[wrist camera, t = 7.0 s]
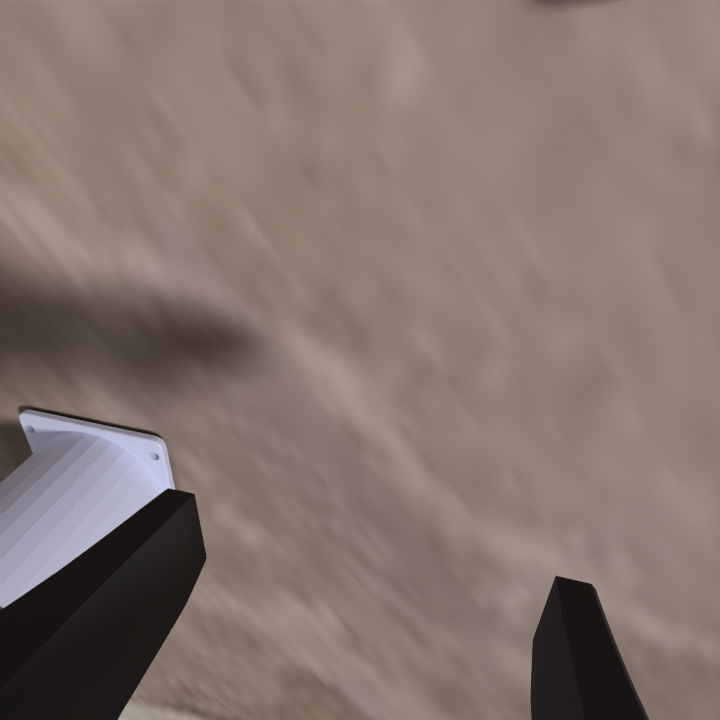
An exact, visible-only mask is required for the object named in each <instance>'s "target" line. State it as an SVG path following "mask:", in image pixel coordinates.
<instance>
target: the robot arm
mask: <svg viewBox="0 0 720 720" xmlns="http://www.w3.org/2000/svg"><path fill="white" fill-rule="evenodd" d="M19 419H20V422H21V425H22V427H23V430H24V432H25V435H26V437H27V440H28V443H29V445H30V448H31V450H32V453H33V454H32V455H31V456H30V457H29V458H28V459H27V460H26V461H24V462H23V463H22V464H21V465H20V466H19V467H18V468H17V469H15V470H14V471H13V472H12V473H11V474H10V475H9V476H8V477H6V478H5V479H4V480H3V481H2V482H1V483H0V720H118V718H119V716H120V714H121V713H122V711H123V709H124V708H125V706H126V704H127V703H128V701H129V699H130V698H131V696H132V694H133V693H134V691H135V689H136V688H137V686H138V684H139V683H140V681H141V679H142V678H143V676H144V674H145V673H146V671H147V669H148V668H149V666H150V664H151V663H152V661H153V659H154V658H155V656H156V654H157V653H158V651H159V649H160V648H161V646H162V644H163V643H164V641H165V639H166V638H167V636H168V634H169V633H170V631H171V629H172V628H173V626H174V624H175V622H176V621H177V619H178V617H179V616H180V614H181V612H182V610H183V609H184V607H185V605H186V603H187V601H188V599H189V597H190V594H191V592H192V590H193V588H194V586H195V584H196V581H197V579H198V577H199V575H200V572H201V570H202V568H203V565H204V563H205V561H206V558H207V557H206V552H205V547H204V542H203V536H202V531H201V526H200V521H199V515H198V510H197V505H196V500H195V494H192V493H188V492H183V491H179V490H175V486H174V481H173V477H172V472H171V467H170V462H169V458H168V453H167V448H166V445H165V442H164V441H163V440H162V439H161V438H159V437H157V436H154V435H149V434H144V433H139V432H135V431H130V430H125V429H120V428H115V427H111V426H106V425H101V424H96V423H91V422H87V421H82V420H77V419H72V418H68V417H63V416H58V415H53V414H48V413H44V412H39V411H34V410H25V411H23V412H22V413H21V414H20V415H19ZM531 715H532V720H649V718H648V716H647V714H646V712H645V710H644V708H643V705H642V703H641V701H640V699H639V697H638V695H637V692H636V690H635V688H634V686H633V683H632V681H631V679H630V676H629V674H628V672H627V669H626V667H625V665H624V662H623V660H622V657H621V655H620V653H619V650H618V648H617V645H616V643H615V640H614V638H613V635H612V633H611V630H610V628H609V625H608V622H607V620H606V617H605V614H604V611H603V609H602V606H601V603H600V600H599V597H598V595H597V592H596V589H595V588H594V587H593V585H592V584H589V583H585V582H581V581H576V580H572V579H567V578H563V577H558V576H556V577H555V580H554V582H553V585H552V588H551V591H550V594H549V596H548V599H547V602H546V605H545V607H544V610H543V613H542V616H541V619H540V621H539V624H538V627H537V630H536V633H535V635H534V638H533V649H532V672H531Z"/></svg>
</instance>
